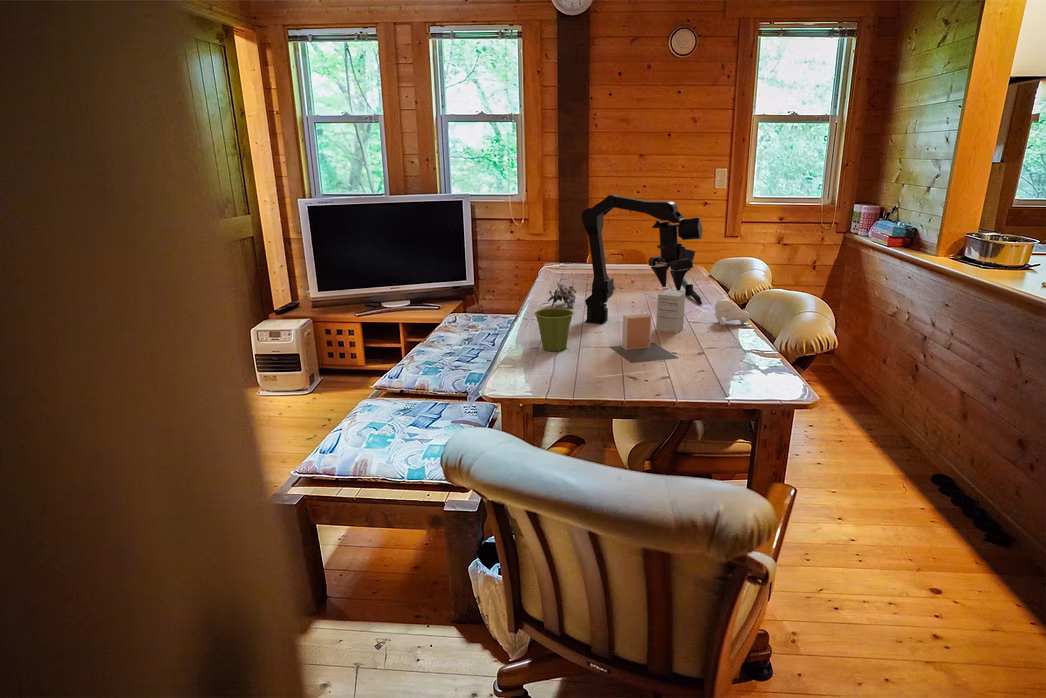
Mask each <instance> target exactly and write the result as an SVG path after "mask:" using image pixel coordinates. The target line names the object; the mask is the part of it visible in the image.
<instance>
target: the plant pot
mask: <svg viewBox="0 0 1046 698" xmlns="http://www.w3.org/2000/svg"><path fill="white" fill-rule="evenodd" d="M574 314H575V312H574V311H573V310H571V309H568V308H560V307H558V308H557V307H556V308H555V307H551V308H542V309H539V310H536V311H535V312H534V316H535V317H536V321H537V323H538V328H539V333H540V340H541V345H542V349H543V350H546V351H549V352H561V351H562V350H566V349H567V345H568V338H569V334H570V326H571V322H572V317H573V316H574Z"/></svg>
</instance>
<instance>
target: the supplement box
mask: <svg viewBox="0 0 1046 698" xmlns="http://www.w3.org/2000/svg"><path fill="white" fill-rule="evenodd" d="M685 303H686V295H685V291H677V290H676V291H675V290H663V291H662V292H660V293H658V294H657V304H656V305H657V306H656V324H655V325H656V326H655V330H656V331H658V332H665V333H666V332H668V333H675V334H678V333H679V332H680V331H682V330H683V329H684V321H685V320H684V319H685V318H684V317H685Z"/></svg>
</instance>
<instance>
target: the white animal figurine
mask: <svg viewBox="0 0 1046 698" xmlns="http://www.w3.org/2000/svg"><path fill="white" fill-rule="evenodd" d="M714 311H715V313H714V314H715V317H716V320H717V321H718V323H719V324H720V325H721V326H723V325H725V326H726V322H731V321H739V322H740V324H741V323H743V324H742V325H745V324H746V323H747V322H748V321H750V317H751V316H750V315H751V314H750V313H749V312H748V311H746V310H743V309H741V307H739V306H738V305H737V304H736V303H735V302H733V301H731V300H729V299H727V298H722V299H719V300H717V301H716V302H715V305H714ZM744 323H745V324H744Z"/></svg>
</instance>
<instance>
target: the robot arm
mask: <svg viewBox="0 0 1046 698" xmlns="http://www.w3.org/2000/svg"><path fill="white" fill-rule="evenodd" d="M614 208H615V209H620V210H626V211H631V212H637V213H642V214H646V215H648V216H651V217H653V218H654V219H658V220H656V222H655V223H654V224H653V225H652V227H651V228H653V229H658V238H659V239H658V240H659V244H656V245H657V247H656V248H657V249H659V253H660V255H656V256H650V257H649V259H648V266H649V267H650V269H652V271H653V273H654V275H655V277H657V280H658V281H659V283H660V285H661V287H662V288H666V287H667V276H668V275H667V274H668V270H669V268H670V269H671V270H669V272H670V275H671V278H672V280H673V284H674V287H675V289H676V291H678V292H680V291H681V289H682V287H683V286H682V282H683V278H685V276H686V274H687V273H688V272H689V271H690V270H691V269H693V268H694V262H693V261H694V259H695V254H696V251H695V250H691V249H688V248H686V247H685V246H682V244H681V243H679V238H680V239H681V240H682V241H689V240H691V241H692V240H701V239H702V236H703V227H702V221H701V217H700V216H696V217H691V218H690V217H689V218H685V217H684V216H683V215H682V214H681V213H680V211H679V209H678V205H677V204H676V202H674V201H672V200H655V201H653V200H651V201H649V200H645V199H639V198H633V197H626V196H621V195H617V194H608V195H607V196H606V197H605V198H604V199H602V200H601V201H600V202H598V203H597V204H594V205H593V206H592V207H588V208H585V209H584V210H583V211H582V212H581V214H580V218H581V222H582V225H583V228H584V230H585V231H586V234H587V236H588V243H589V250H590V258H591V264H592V272H593V274H592V275H593V279H592V283H591V295H589V296H588V297H587V298H585V300H584V301H585V302H584V303H585V305H586V320H585V321H584V322H585V323H591V324H601V325H603V324H604V323H606V322H607V321H608V320H609V318H608V317H609V316H608V315H609V308H607V306H608V305H607V304H608V301H609V299H610V298H611V297H612V296H613V295H614V290H616V287H615V286H614V282H615V281H614V278H613V277H612V278H611V277H609V275H608V273H607V272H608V271H607V266H606V258H605V249H604V242H603V236H602V235H603V234H602V232H603V228H604V217H605V216H606V215H607V214H608V213H609V212H611V211H612V210H613V209H614ZM678 237H679V238H678Z"/></svg>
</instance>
